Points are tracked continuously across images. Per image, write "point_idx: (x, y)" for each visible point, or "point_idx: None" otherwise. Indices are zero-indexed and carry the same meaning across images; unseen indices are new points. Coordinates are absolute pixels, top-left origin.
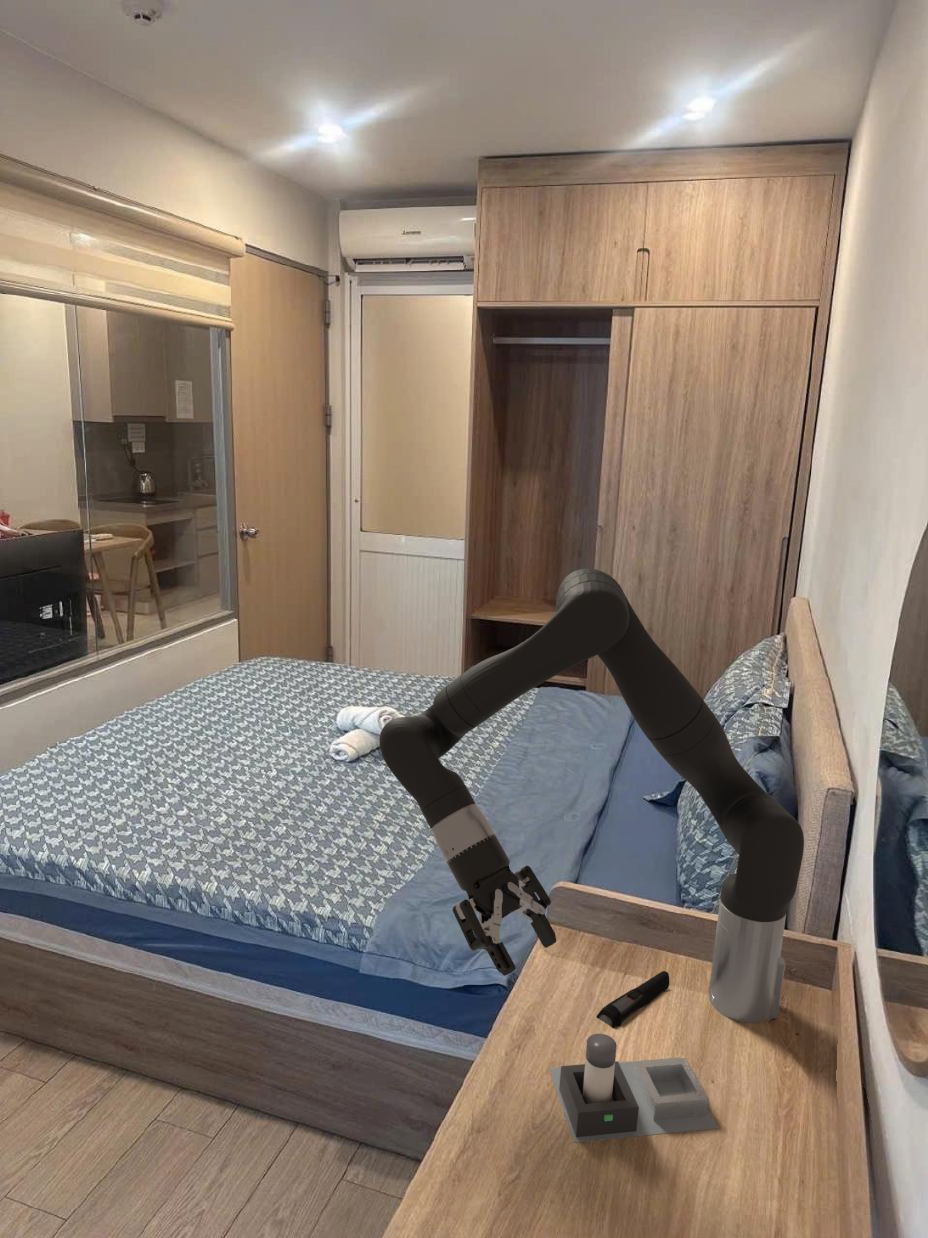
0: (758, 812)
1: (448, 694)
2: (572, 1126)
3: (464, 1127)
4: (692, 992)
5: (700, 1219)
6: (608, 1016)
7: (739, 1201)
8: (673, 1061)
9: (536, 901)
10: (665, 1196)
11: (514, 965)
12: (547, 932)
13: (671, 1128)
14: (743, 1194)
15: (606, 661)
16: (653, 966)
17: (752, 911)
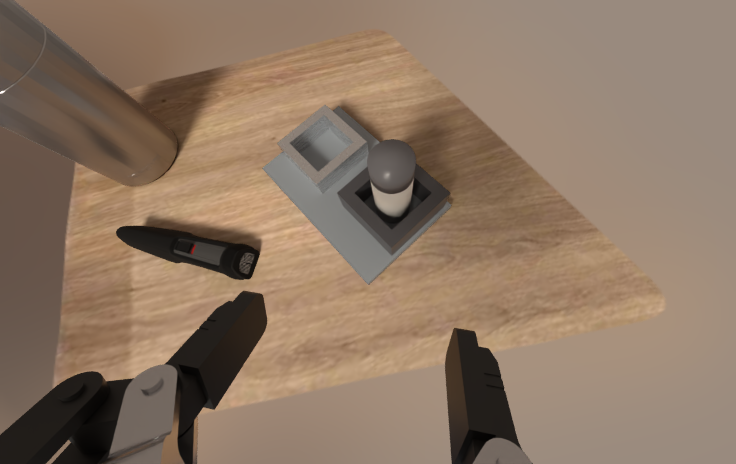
0: None
1: None
2: (433, 216)
3: (513, 330)
4: (137, 204)
5: (440, 92)
6: (240, 258)
7: (401, 76)
8: (290, 151)
9: (79, 454)
10: (438, 121)
11: (458, 333)
12: (239, 320)
13: (367, 137)
14: (391, 76)
15: None
16: (101, 264)
17: None
